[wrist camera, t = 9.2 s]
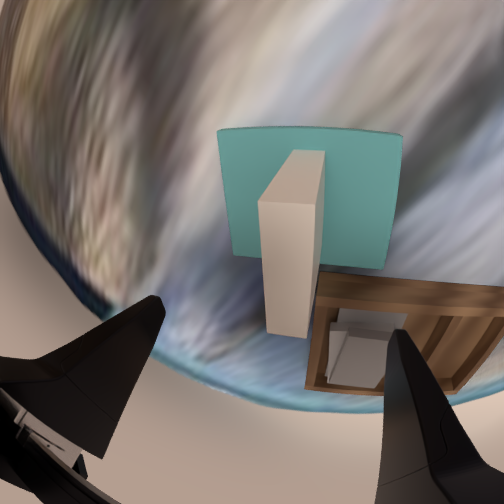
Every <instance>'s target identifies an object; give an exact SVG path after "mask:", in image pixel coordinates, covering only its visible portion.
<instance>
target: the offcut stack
mask: <svg viewBox="0 0 504 504" xmlns="http://www.w3.org/2000/svg"><path fill="white" fill-rule="evenodd" d="M407 315H408V314H406V313H391V312H378V311H366V310H355V309H344V308H339V310H338V315H337V321H336V322H331V324H330V336H329V358H328V362H327V366H326V371H325V376H328V379H327V383H330V384H338V385H346V386H355V387H364V388H375V387H376V386H377V384H378V383H379V382H380V380H381V379H382V377H383V376H384V375H385V370H386V357H387V346H388V342H389V340H390V338H391V335H392V333H393V331H394V330H395V329H402V327H403V324H404V322H405V320H406V317H407Z"/></svg>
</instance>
